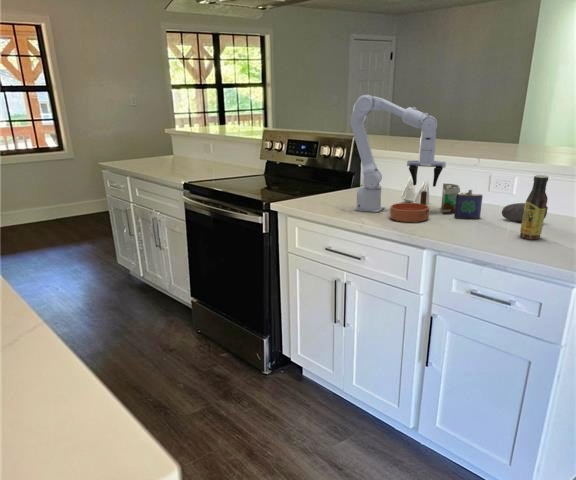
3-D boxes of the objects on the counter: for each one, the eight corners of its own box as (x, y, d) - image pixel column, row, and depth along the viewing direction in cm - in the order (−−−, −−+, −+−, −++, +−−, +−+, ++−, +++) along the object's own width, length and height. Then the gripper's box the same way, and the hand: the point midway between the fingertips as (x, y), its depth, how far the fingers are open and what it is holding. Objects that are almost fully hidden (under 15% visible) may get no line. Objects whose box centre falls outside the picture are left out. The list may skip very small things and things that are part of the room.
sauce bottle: (515, 235, 167) (525, 174, 159) (533, 234, 167) (544, 173, 160) (525, 241, 161) (536, 177, 153) (544, 240, 161) (556, 177, 154)
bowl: (385, 221, 190) (385, 209, 188) (396, 212, 201) (396, 201, 200) (423, 224, 184) (424, 212, 182) (431, 215, 195) (432, 204, 193)
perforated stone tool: (498, 220, 186) (501, 201, 183) (503, 217, 189) (505, 199, 187) (542, 226, 177) (545, 206, 174) (546, 223, 180) (549, 203, 178)
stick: (419, 211, 202) (420, 191, 199) (420, 210, 204) (421, 190, 200) (424, 212, 201) (426, 192, 198) (425, 211, 203) (427, 191, 200)
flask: (479, 217, 190) (483, 189, 186) (480, 219, 188) (483, 190, 184) (454, 216, 193) (456, 188, 189) (454, 218, 190) (457, 190, 186)
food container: (459, 215, 195) (462, 189, 191) (443, 214, 196) (445, 188, 192) (456, 208, 206) (459, 183, 202) (440, 207, 207) (443, 183, 203)
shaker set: (399, 202, 220) (401, 176, 215) (404, 200, 223) (406, 174, 218) (424, 205, 212) (427, 178, 208) (429, 203, 215) (431, 177, 211)
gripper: (448, 148, 193) (445, 184, 198) (411, 148, 199) (408, 182, 205) (444, 151, 187) (441, 188, 193) (406, 150, 193) (404, 185, 199)
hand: (424, 185), depth 198 cm, fingers open, 7 cm apart
